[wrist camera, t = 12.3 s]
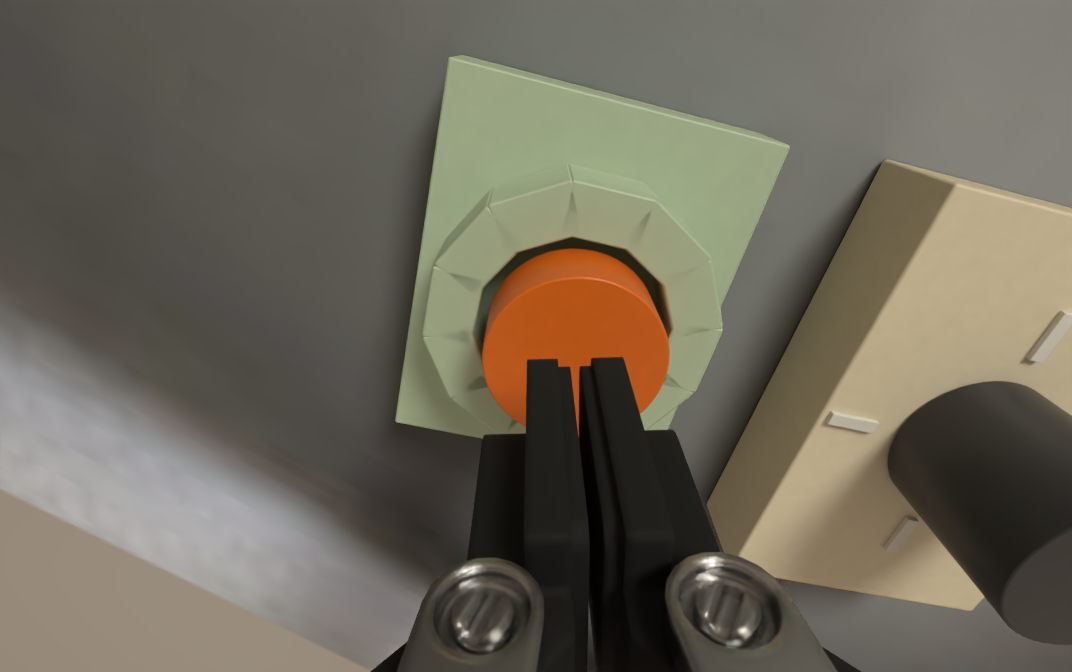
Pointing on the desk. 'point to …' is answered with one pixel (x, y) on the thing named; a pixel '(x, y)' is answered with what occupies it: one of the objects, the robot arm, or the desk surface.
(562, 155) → the button block
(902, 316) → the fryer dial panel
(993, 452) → the knob
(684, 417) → the desk surface
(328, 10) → the desk surface
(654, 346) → the button
